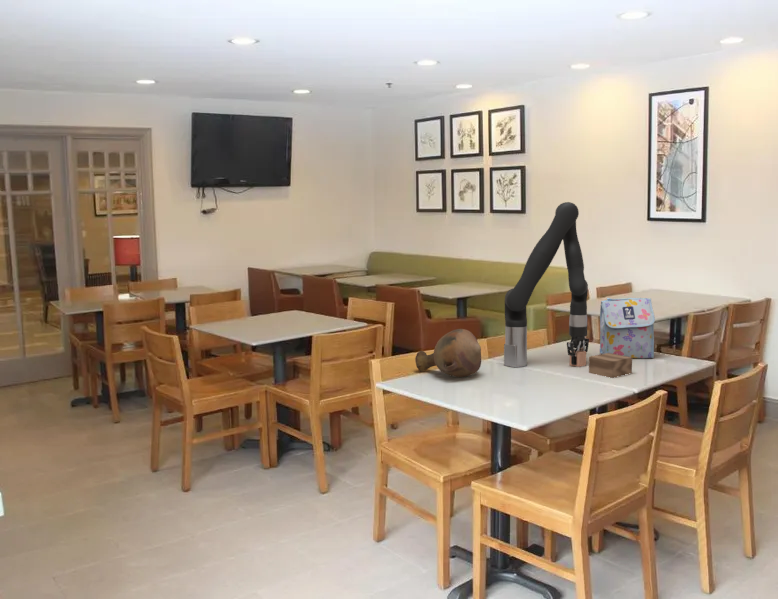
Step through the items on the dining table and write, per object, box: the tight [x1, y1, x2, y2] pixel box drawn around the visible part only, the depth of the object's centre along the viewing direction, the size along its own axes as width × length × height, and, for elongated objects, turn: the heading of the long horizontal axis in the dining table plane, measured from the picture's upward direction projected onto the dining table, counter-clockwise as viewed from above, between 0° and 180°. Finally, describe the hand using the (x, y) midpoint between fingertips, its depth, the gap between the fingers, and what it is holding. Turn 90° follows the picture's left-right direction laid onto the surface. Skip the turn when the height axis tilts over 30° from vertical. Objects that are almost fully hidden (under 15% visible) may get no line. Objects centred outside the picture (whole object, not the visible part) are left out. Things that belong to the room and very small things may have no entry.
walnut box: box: [588, 353, 633, 379], centre depth 316 cm, size 12×12×7 cm
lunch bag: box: [599, 297, 656, 359], centre depth 346 cm, size 22×17×26 cm
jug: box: [414, 328, 482, 378], centre depth 319 cm, size 20×20×30 cm
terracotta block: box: [569, 350, 587, 367], centre depth 332 cm, size 5×5×6 cm
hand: (577, 363), depth 332 cm, fingers closed on terracotta block, 5 cm apart
